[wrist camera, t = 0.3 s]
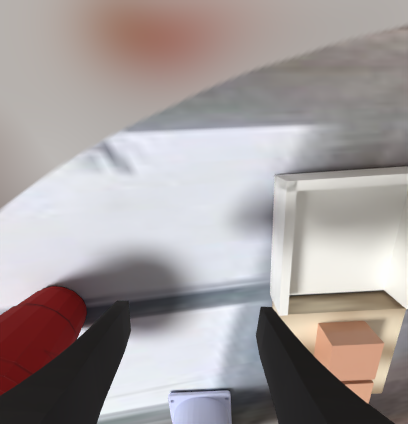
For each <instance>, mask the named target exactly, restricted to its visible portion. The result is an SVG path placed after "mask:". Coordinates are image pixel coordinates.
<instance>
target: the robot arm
mask: <svg viewBox="0 0 408 424" xmlns="http://www.w3.org/2000/svg"><path fill="white" fill-rule="evenodd" d="M130 332H131V326H130V312H129V301H117V302H115V303H114V304H113V305H112V306H111V307H110V308H109V309H108V310H107V311H106V312H105V313H104V314H103V315H102V316H101V317H100V318H99V319H98V320H97V321H96V322H95V323H94V324H93V325H92V326H91V327H90V328H89V329H88V330H87V331H86V332H85V333H84V334H83V335H81V336H80V337H79V338H78V339H77V340H76V341H75V342H73V343H72V344H71V345H70V346H69V347H68V348H66V349H65V350H64V351H63V352H62V353H60V354H59V355H58V356H57V357H55V358H54V359H53V360H51V361H50V362H49V363H48V364H46V365H45V366H44V367H42V368H41V369H39V370H38V371H36V372H35V373H34V374H32V375H31V376H29V377H28V378H26V379H25V380H23V381H22V382H21V383H19V384H18V385H16V386H15V387H13V388H12V389H10V390H8V391H7V392H5V393H4V394H2V395H0V424H97V421H98V418H99V415H100V412H101V409H102V406H103V403H104V401H105V398H106V396H107V393H108V391H109V389H110V386H111V384H112V381H113V379H114V376H115V374H116V372H117V369H118V367H119V364H120V362H121V359H122V357H123V354H124V352H125V349H126V346H127V342H128V339H129V335H130ZM256 338H257V344H258V350H259V355H260V359H261V362H262V366H263V369H264V373H265V376H266V379H267V383H268V386H269V389H270V393H271V396H272V400H273V403H274V406H275V410H276V414H277V418H278V423H279V424H395V423H393V422H392V421H390V420H389V419H388V418H386V417H385V416H384V415H382V414H381V413H380V412H378V411H377V410H376V409H374V408H373V407H372V406H370V405H369V404H368V403H367V402H365V401H364V400H363V399H361V398H360V397H359V396H358V395H357V394H355V393H354V392H353V391H352V390H351V389H349V388H348V387H347V386H346V385H345V384H343V383H342V382H341V381H340V380H339V379H338V378H337V377H335V376H334V375H333V374H332V373H331V372H330V371H329V370H328V369H327V368H326V367H325V366H324V365H323V364H322V363H320V362H319V361H318V360H317V359H316V358H315V356H314V355H313V354H312V353H311V352H310V351H309V350H308V349H307V348H306V347H305V346H304V345H303V344H302V343H301V341H300V340H299V339H298V338H297V337H296V336H295V335H294V333H293V332H292V331H291V330H290V329H289V327H288V326H287V325H286V324H285V323H284V321H283V320H282V319H281V318H280V316H279V315H278V314H277V313H276V311H275V310H274V309H273V308H272V307H261V309H260V315H259V321H258V327H257V333H256ZM168 401H169V407H170V412H171V418H172V424H232V420H231V395H230V392H229V391H227V390H224V391H203V392H181V393H170V394H169V395H168Z"/></svg>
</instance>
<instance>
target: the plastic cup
mask: <svg viewBox="0 0 408 424" xmlns="http://www.w3.org/2000/svg"><path fill="white" fill-rule="evenodd" d="M86 315H87V312H86V305H85V303H84V301H83V300H82V298H81V297H80V296H79V295H77V294H76V293H75V292H74V291H71V290H69V289H67V288H65V287H57V286H52V287H48V288H44V289H42V290H41V291H37V292H36V293H34V294H33V295H32V296H30V297H29V298H27V299H26V300H24V301H23V302H21V303H20V304H18V305H17V306H14V307H12V308H10V309H9V310H7V311H6V312H4V313H3V314H1V315H0V395H2V394H4V393H5V392H7V391H8V390H10V389H12V388H13V387H15V386H16V385H18V384H19V383H21V382H22V381H23V380H25V379H26V378H28V377H29V376H31V375H32V374H34V373H35V372H36V371H38V370H39V369H41V368H42V367H44V366H45V365H46V364H48V363H49V362H50V361H51V360H53V359H54V358H55V357H57V356H58V355H59V354H60V353H62V352H63V351H64V350H65V349H66V348H68V347H69V346H70V345H71V344H72V343H73V342H75V341H76V340H77V338H78V335H79V333H80V331H81V328H82V326H83V324H84V322H85V317H86Z"/></svg>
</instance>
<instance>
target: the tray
mask: <svg viewBox="0 0 408 424" xmlns="http://www.w3.org/2000/svg"><path fill="white" fill-rule="evenodd" d="M375 290H384V291H386V292H387V293H388V294H389V295H390V296H392V297H393V298H394V299H395V300H396V301H397V302H399V303H400V304H401V305H402V306H403V307H405V308H406V309H408V166H404V167H389V168H374V169H359V170H343V171H328V172H313V173H298V174H283V175H275V178H274V204H273V230H272V256H271V283H270V295H271V298H272V300H273V302H274V305H275V307H276V309H277V312H278V314H279V316H286V315H288V305H289V295H301V294H320V293H338V292H356V291H375Z"/></svg>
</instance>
